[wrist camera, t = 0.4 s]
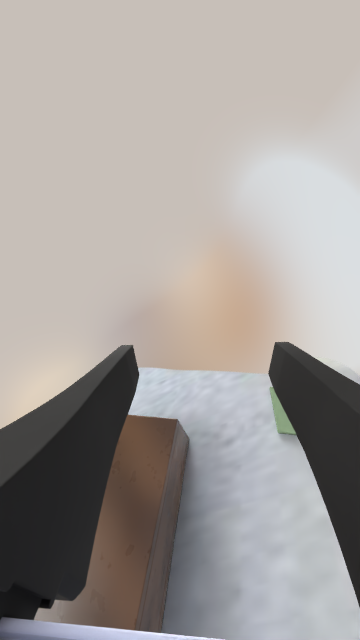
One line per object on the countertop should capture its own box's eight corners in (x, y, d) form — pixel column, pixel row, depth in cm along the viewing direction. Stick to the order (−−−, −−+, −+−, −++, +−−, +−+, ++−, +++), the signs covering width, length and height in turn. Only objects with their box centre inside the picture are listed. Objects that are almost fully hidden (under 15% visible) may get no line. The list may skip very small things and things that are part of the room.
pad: (338, 439, 20) (339, 437, 20) (278, 433, 22) (278, 431, 22) (318, 389, 25) (318, 388, 25) (269, 388, 27) (269, 386, 27)
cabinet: (157, 655, 14) (124, 682, 11) (50, 596, 17) (1, 602, 14) (189, 438, 25) (177, 418, 22) (119, 429, 28) (100, 411, 25)
